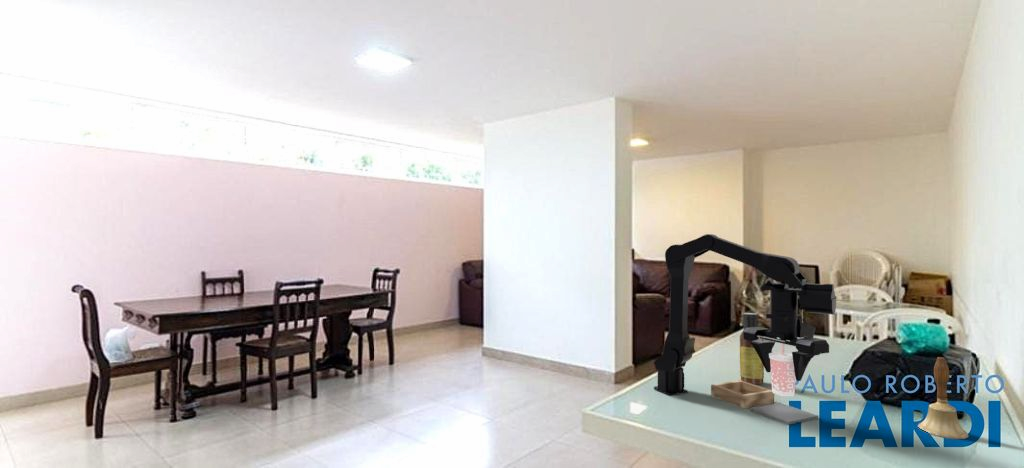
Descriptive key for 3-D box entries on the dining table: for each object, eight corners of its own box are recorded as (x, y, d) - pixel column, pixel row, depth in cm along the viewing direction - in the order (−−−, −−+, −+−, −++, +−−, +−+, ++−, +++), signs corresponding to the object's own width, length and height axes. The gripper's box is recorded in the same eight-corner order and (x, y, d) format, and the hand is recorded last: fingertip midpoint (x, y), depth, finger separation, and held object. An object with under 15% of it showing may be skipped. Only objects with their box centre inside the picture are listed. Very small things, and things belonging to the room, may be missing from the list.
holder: (744, 408, 123) (744, 396, 123) (711, 396, 133) (711, 384, 133) (774, 402, 127) (774, 390, 127) (740, 391, 137) (740, 380, 137)
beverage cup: (775, 397, 116) (776, 336, 116) (764, 389, 122) (764, 331, 122) (803, 397, 116) (803, 336, 116) (790, 389, 122) (790, 331, 122)
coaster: (788, 424, 112) (788, 421, 112) (750, 410, 121) (750, 408, 121) (818, 418, 116) (818, 415, 116) (779, 405, 126) (779, 402, 126)
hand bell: (957, 442, 103) (957, 363, 103) (910, 428, 110) (909, 355, 111) (976, 435, 107) (975, 359, 107) (929, 422, 114) (929, 351, 114)
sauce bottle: (768, 386, 142) (767, 315, 142) (745, 385, 142) (745, 315, 142) (757, 379, 148) (757, 311, 148) (735, 379, 148) (735, 311, 149)
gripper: (845, 314, 114) (845, 383, 114) (773, 303, 131) (772, 363, 131) (812, 316, 109) (811, 388, 109) (741, 305, 126) (741, 368, 126)
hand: (783, 376), depth 119 cm, fingers closed on beverage cup, 7 cm apart
